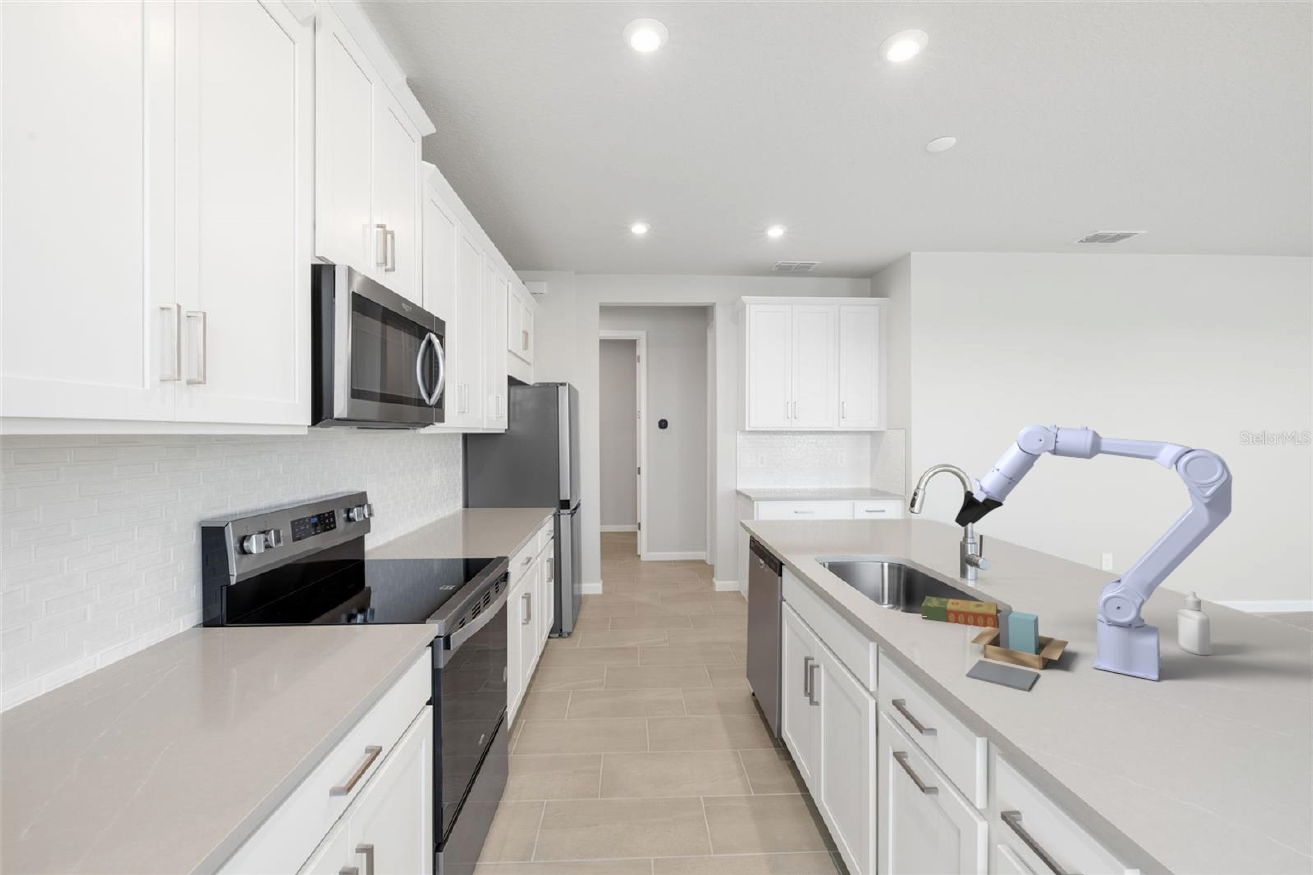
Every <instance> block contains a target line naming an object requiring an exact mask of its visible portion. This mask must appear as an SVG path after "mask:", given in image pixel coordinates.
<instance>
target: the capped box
mask: <svg viewBox="0 0 1313 875" xmlns="http://www.w3.org/2000/svg"><path fill="white" fill-rule="evenodd" d="M998 620H999V621H998V622H999V624H998V625H999V627H998V628H999V629H1000V644H999V647H1000V648H1005V649H1010V650H1015V651H1020V652H1025V653H1030V654H1034V655H1040V648H1039V634H1040V633H1039V615H1038V614H1032V613H1026V612H1019V611H1016V610H1015V611H1014V610H1010V609H1003V610H1001V611H1000V613H998Z"/></svg>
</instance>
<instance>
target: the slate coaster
mask: <svg viewBox="0 0 1313 875" xmlns="http://www.w3.org/2000/svg"><path fill="white" fill-rule="evenodd" d="M1039 675H1040V673H1039V672H1036V671H1032V670H1029V669H1022V668H1019V667H1014V666H1010V665H1009V666H1008V665H1005V664H1002V663H1001V664H1000V663H996V662H991V661H987V660H982V659H979V660H978V661H977V662H976V663H975V664H974V665H973V666H972V668H971V669H970V670H968V672H967V673H966V676H965V677H968V678H971V679H972V678H973V679H976V680H979V681H983V682H989V683H991V684H992V683H993V684H996V685H1000V686H1004V687H1008V688H1013V689H1017V690H1021V691H1026V692H1029V691H1030V689H1031V688H1032V686H1033V685H1034V683H1035V682H1036V680H1037V679H1038V677H1039Z"/></svg>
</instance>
